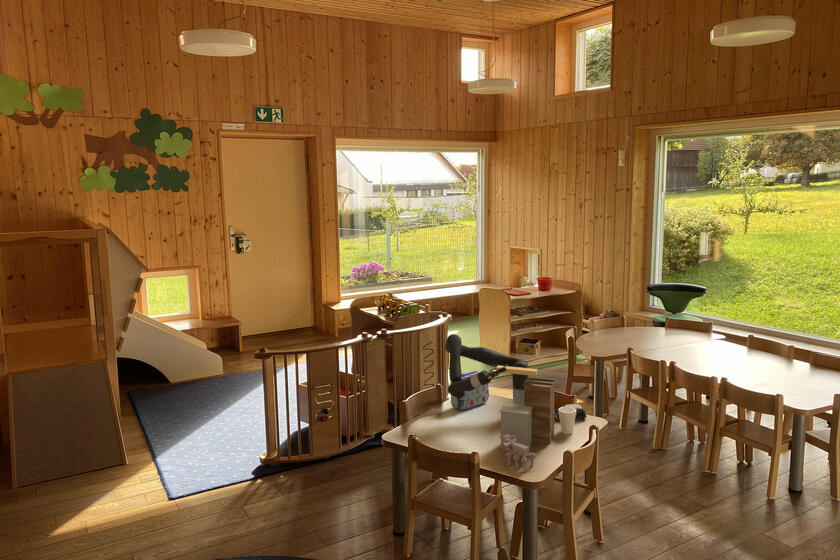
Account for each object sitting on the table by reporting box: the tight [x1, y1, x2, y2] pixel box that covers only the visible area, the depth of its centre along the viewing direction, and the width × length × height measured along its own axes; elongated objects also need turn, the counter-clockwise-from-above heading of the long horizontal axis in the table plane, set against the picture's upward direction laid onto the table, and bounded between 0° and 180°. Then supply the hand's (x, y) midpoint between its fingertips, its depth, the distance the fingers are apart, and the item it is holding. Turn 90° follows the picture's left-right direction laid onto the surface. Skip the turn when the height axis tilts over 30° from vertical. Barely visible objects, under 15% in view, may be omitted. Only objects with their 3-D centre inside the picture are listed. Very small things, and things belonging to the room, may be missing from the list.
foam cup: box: [558, 406, 576, 435], centre depth 357 cm, size 10×9×13 cm
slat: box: [495, 365, 539, 377], centre depth 349 cm, size 4×22×2 cm, turn 68°
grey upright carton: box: [499, 403, 533, 452], centre depth 339 cm, size 11×15×22 cm
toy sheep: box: [499, 434, 536, 473], centre depth 321 cm, size 20×11×14 cm, turn 43°
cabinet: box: [523, 376, 556, 445], centre depth 348 cm, size 13×15×33 cm
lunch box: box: [449, 370, 490, 412], centre depth 398 cm, size 28×10×22 cm, turn 130°
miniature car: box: [554, 403, 587, 422], centre depth 376 cm, size 9×18×8 cm, turn 91°
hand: (506, 367), depth 351 cm, fingers closed on slat, 4 cm apart
